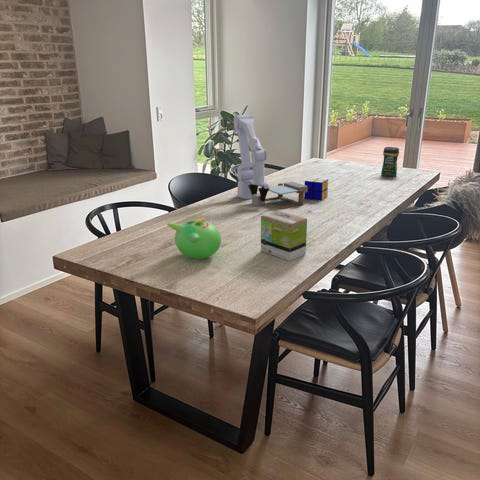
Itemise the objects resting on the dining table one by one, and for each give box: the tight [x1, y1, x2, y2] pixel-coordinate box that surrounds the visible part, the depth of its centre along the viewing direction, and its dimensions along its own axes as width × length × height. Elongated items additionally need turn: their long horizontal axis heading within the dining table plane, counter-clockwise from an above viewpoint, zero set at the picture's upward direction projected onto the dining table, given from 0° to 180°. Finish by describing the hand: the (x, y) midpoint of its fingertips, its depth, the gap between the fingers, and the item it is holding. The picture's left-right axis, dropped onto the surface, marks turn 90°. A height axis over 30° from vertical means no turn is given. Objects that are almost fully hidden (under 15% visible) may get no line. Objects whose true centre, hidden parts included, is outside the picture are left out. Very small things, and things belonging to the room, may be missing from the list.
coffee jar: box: [380, 146, 400, 178], centre depth 314 cm, size 10×8×19 cm
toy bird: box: [166, 217, 222, 260], centre depth 182 cm, size 18×17×15 cm
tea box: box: [260, 210, 308, 262], centre depth 184 cm, size 15×10×15 cm, turn 45°
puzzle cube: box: [304, 177, 329, 202], centre depth 264 cm, size 10×10×10 cm
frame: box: [265, 182, 305, 210], centre depth 255 cm, size 19×14×8 cm
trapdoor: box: [268, 181, 308, 195], centre depth 255 cm, size 16×18×3 cm
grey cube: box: [251, 192, 266, 207], centre depth 254 cm, size 5×5×5 cm
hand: (258, 199), depth 254 cm, fingers open, 7 cm apart
